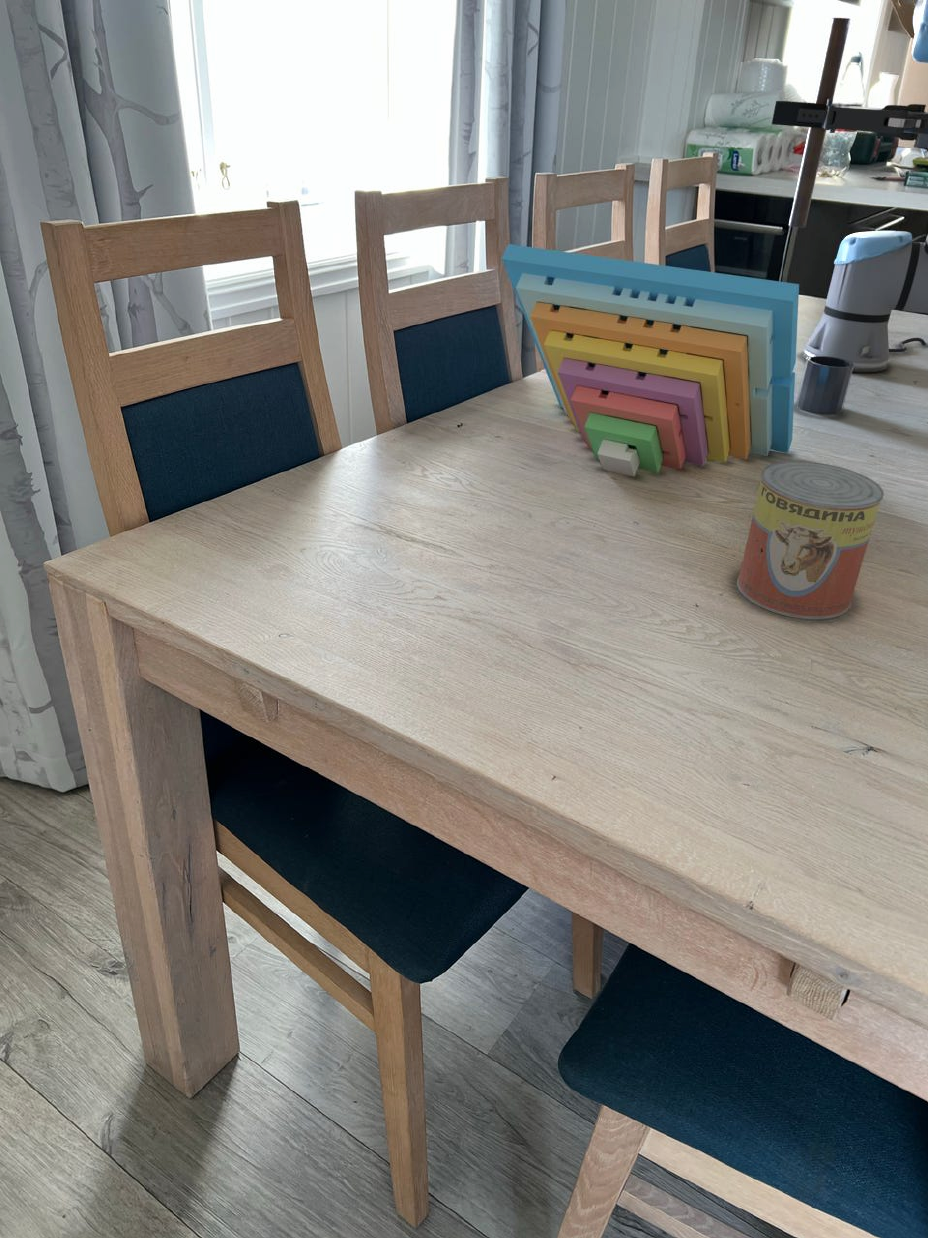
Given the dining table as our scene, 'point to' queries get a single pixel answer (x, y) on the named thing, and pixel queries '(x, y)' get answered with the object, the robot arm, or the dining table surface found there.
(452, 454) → the dining table surface
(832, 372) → the holder
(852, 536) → the canned food
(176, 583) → the dining table surface
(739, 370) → the rainbow stepped pyramid
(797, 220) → the stick
